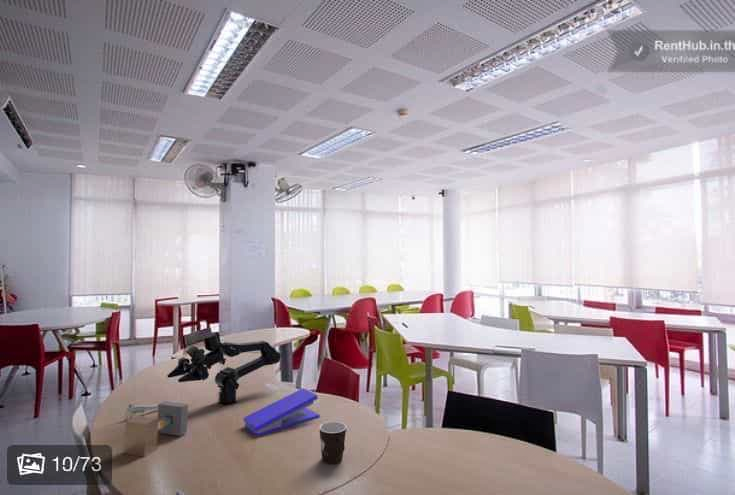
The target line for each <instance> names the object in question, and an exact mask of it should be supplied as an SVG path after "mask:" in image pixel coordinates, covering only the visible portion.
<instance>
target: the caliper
mask: <svg viewBox="0 0 735 495" xmlns="http://www.w3.org/2000/svg"><path fill="white" fill-rule="evenodd" d="M150 410H151V411H152V410H158V404H152V405H143V404H142V405H135V403H132V404H130V403H129V405H128V406H127V408H126V410H125V416H124V420H125V422H126V421H127V420H130V419H132V418H134V417H136V413H139V414H141V413H142V414H144V413H145V412H146V411H150Z"/></svg>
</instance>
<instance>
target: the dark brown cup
mask: <svg viewBox="0 0 735 495" xmlns="http://www.w3.org/2000/svg"><path fill="white" fill-rule="evenodd" d="M318 427H319V437H320V438H319V439H320V450H321V460H322V462H323V463H325V464H326V465H337V464H340V463H341V462H342V461H343V456H344V451H345V446H346V445H345V441H346V435H347V425H346V424H345V423H344V422H339V421H327V422H323V423H322V424H320V425H319V426H318Z"/></svg>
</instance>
